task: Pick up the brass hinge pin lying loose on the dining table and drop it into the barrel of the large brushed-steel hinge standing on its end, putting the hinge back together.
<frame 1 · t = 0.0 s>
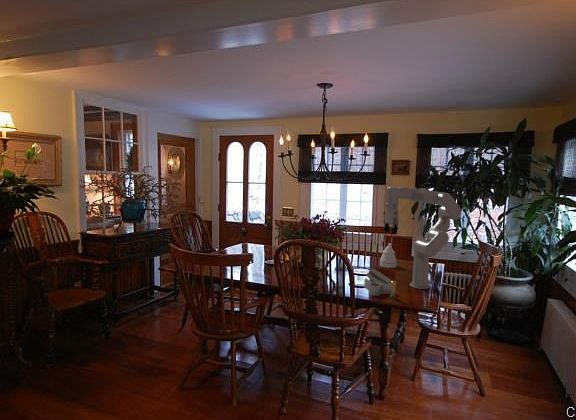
hand: (390, 232, 239), 37 cm above the table, tool pointing down, fingers open, 9 cm apart
brass pin: (392, 297, 224), on the table
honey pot: (388, 266, 302), on the table
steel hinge: (374, 294, 229), on the table
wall: (378, 285, 250), on the table
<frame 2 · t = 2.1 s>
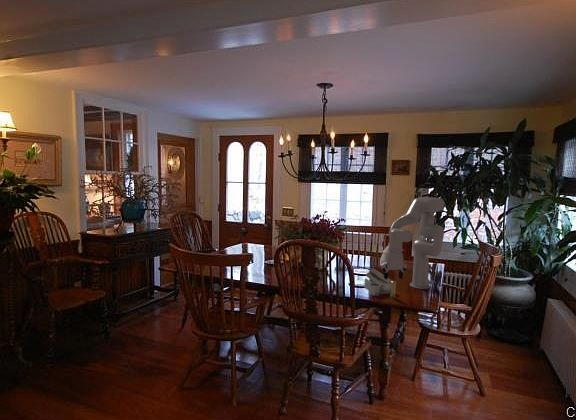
hand: (393, 278, 222), 12 cm above the table, tool pointing down, fingers open, 9 cm apart
nothing on the table moved.
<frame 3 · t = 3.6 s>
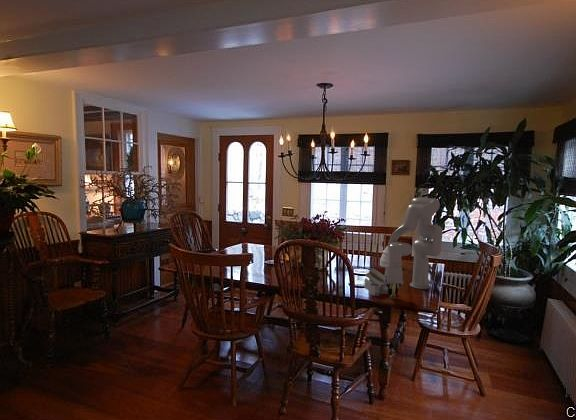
hand: (392, 294, 223), 2 cm above the table, tool pointing down, fingers closed on brass pin, 3 cm apart
brass pin: (392, 297, 224), on the table, touching gripper
everything else where it was.
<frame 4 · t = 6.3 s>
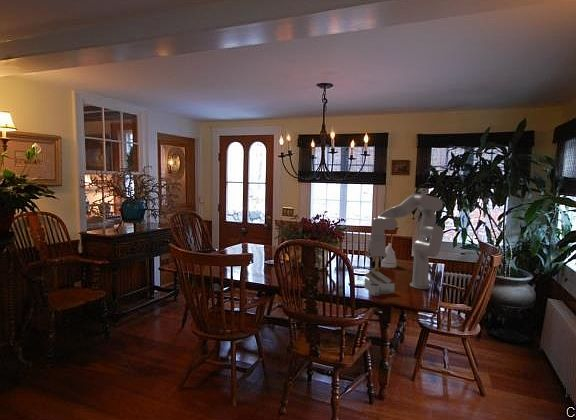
hand: (375, 267, 228), 17 cm above the table, tool pointing down, fingers closed on brass pin, 3 cm apart
brass pin: (375, 270, 228), point 15 cm above the table, touching gripper
everything else where it was.
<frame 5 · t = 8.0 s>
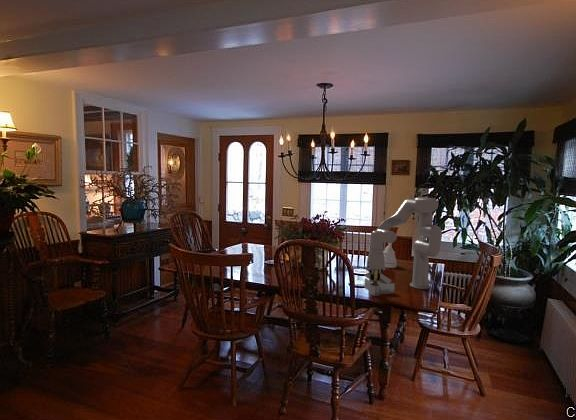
hand: (374, 279, 228), 9 cm above the table, tool pointing down, fingers closed on brass pin, 3 cm apart
brass pin: (374, 283, 229), point 7 cm above the table, touching gripper
everything else where it was.
when the fingers open (7 cm above the table, at t = 8.9 s): brass pin drops 4 cm, resting in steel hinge.
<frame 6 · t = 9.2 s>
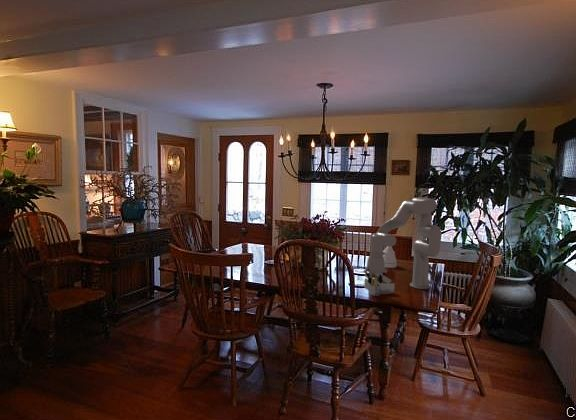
hand: (374, 282, 229), 7 cm above the table, tool pointing down, fingers open, 6 cm apart
brass pin: (374, 293, 229), resting in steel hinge
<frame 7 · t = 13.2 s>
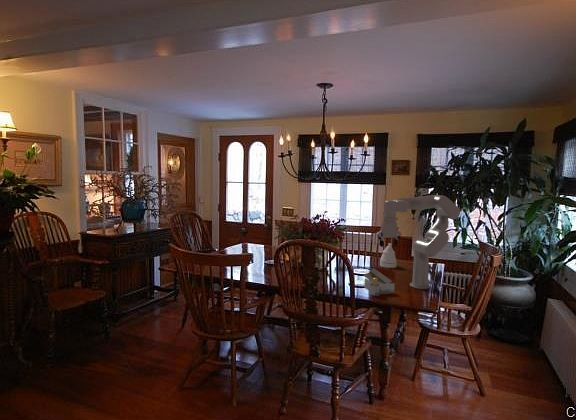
hand: (388, 246, 237), 28 cm above the table, tool pointing down, fingers open, 9 cm apart
at the end: brass pin 0.1 cm off-centre on the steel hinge, point 0.0 cm above the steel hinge's base; brass pin tilted 0°; the gripper is holding nothing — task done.
